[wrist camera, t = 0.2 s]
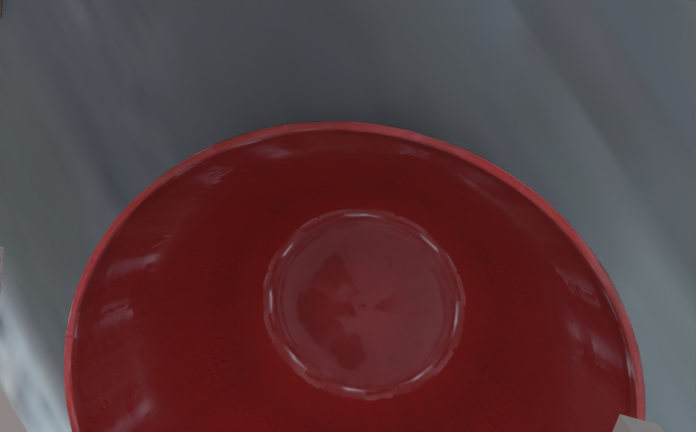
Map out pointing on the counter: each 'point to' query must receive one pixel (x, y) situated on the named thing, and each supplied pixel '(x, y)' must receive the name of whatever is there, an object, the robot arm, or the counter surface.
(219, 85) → the counter surface
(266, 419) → the mixing bowl
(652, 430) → the robot arm
